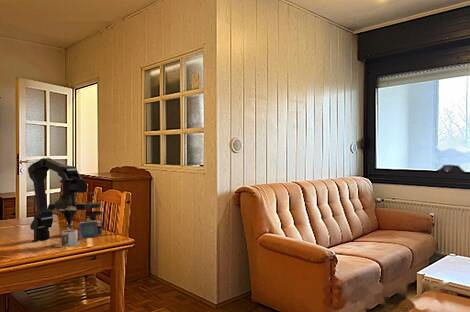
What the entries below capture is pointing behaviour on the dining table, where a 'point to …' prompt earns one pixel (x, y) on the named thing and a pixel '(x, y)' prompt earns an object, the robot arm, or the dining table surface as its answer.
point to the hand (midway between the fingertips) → (69, 224)
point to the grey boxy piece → (69, 237)
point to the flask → (88, 229)
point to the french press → (95, 213)
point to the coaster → (68, 246)
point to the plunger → (69, 226)
